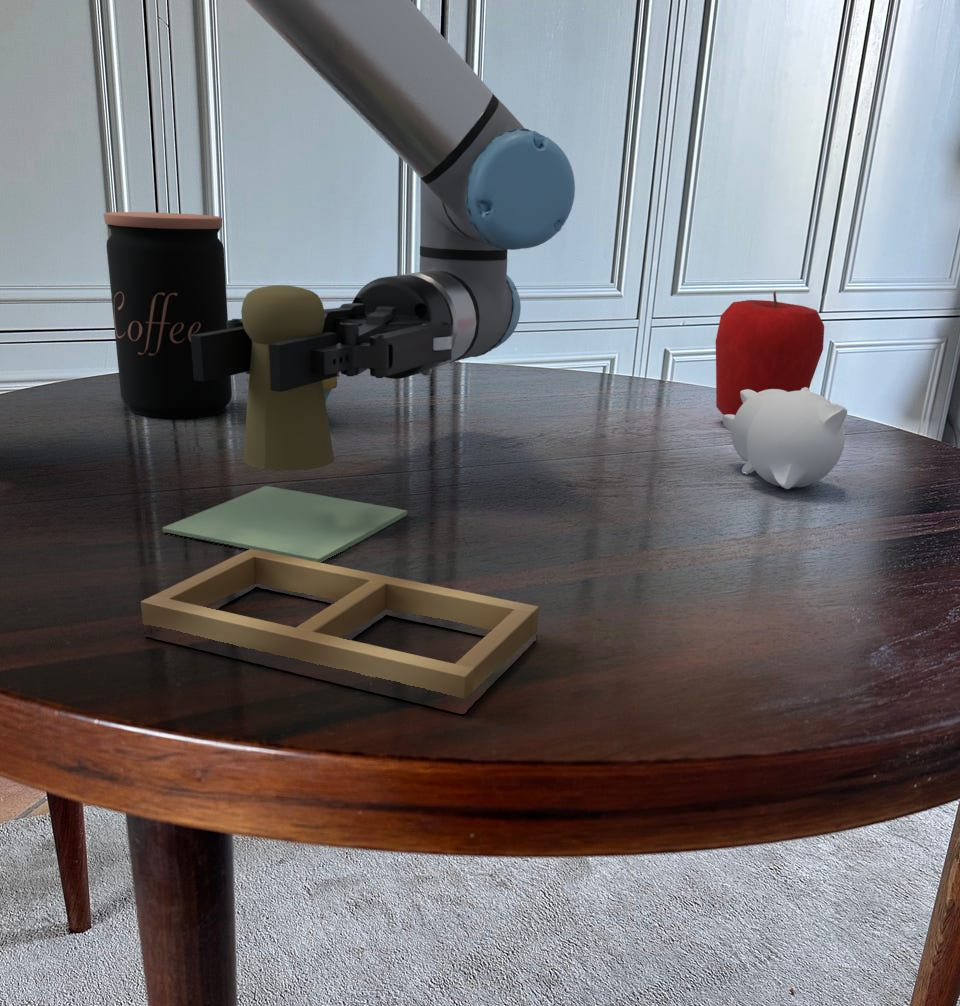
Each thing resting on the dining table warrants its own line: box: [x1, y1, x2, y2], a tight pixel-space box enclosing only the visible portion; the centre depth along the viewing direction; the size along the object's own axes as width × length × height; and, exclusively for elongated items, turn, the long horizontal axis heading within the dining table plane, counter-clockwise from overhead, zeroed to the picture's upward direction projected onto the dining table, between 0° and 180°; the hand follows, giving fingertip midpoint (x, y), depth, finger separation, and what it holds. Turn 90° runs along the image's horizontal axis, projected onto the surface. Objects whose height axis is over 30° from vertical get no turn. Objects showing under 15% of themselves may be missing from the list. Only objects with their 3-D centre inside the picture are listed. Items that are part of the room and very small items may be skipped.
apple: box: [715, 291, 825, 416], centre depth 105 cm, size 11×10×14 cm
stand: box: [140, 549, 540, 698], centre depth 53 cm, size 18×10×2 cm, turn 67°
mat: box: [161, 485, 408, 563], centre depth 70 cm, size 12×12×1 cm
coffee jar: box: [103, 211, 233, 419], centre depth 99 cm, size 11×11×18 cm
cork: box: [240, 284, 335, 472], centre depth 66 cm, size 6×6×11 cm
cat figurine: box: [721, 387, 848, 490], centre depth 86 cm, size 9×11×12 cm
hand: (236, 363), depth 61 cm, fingers closed on cork, 5 cm apart
